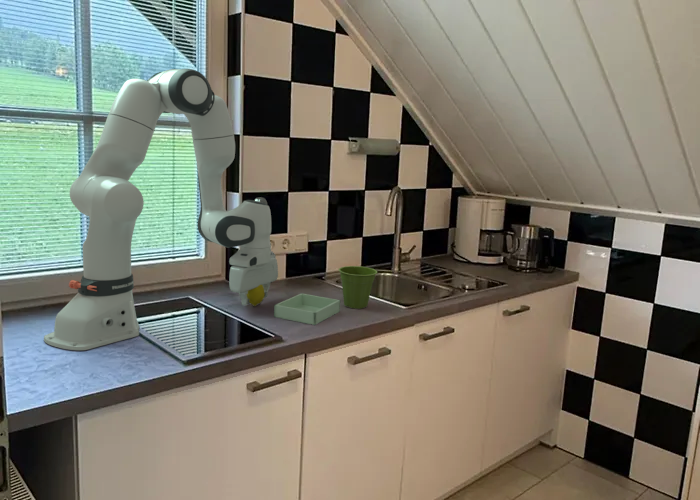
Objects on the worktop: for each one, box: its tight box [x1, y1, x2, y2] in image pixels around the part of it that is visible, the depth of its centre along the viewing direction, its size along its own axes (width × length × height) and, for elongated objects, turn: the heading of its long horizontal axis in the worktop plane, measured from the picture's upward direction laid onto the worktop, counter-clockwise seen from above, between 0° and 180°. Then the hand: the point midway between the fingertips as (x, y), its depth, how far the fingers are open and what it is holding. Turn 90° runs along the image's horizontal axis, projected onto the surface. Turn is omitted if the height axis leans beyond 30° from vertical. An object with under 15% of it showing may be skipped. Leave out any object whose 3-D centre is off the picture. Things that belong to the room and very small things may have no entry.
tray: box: [273, 293, 341, 326], centre depth 171 cm, size 15×13×4 cm
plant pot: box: [338, 265, 378, 310], centre depth 181 cm, size 12×12×11 cm
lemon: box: [246, 285, 265, 307], centre depth 176 cm, size 6×6×8 cm
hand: (254, 301), depth 177 cm, fingers open, 8 cm apart
